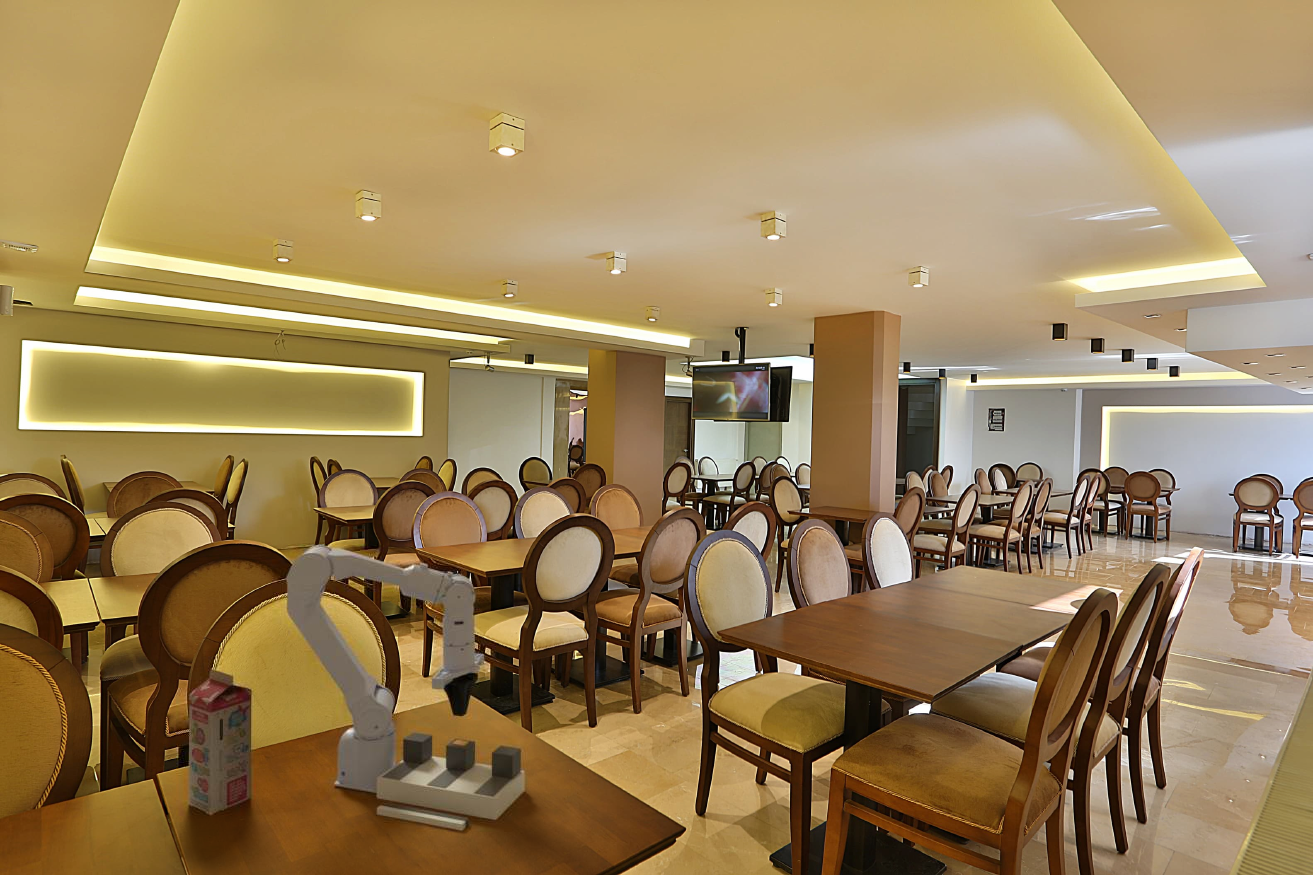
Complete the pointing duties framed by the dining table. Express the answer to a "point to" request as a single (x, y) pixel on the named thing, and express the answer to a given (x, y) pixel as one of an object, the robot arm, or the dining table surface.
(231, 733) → the juice carton
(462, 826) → the long grey stick
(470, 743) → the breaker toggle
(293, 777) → the dining table surface
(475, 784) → the white panel with blocks
